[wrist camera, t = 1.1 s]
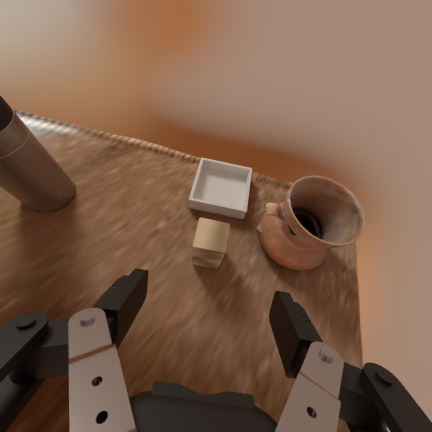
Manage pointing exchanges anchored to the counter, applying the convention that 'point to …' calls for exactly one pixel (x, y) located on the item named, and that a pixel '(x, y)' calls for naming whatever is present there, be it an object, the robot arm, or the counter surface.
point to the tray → (221, 188)
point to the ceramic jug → (310, 223)
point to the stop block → (210, 243)
